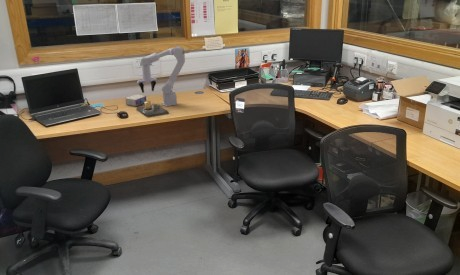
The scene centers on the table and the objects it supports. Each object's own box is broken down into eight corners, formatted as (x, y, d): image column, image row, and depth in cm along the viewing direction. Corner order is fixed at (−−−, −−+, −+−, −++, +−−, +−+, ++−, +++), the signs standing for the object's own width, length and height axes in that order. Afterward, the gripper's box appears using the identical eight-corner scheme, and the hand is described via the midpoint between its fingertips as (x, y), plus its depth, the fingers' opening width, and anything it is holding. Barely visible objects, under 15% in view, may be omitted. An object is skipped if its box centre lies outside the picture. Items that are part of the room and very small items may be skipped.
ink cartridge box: (136, 107, 291) (148, 101, 303) (135, 99, 289) (148, 94, 301) (125, 105, 295) (138, 99, 307) (125, 98, 293) (137, 92, 305)
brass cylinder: (150, 110, 279) (149, 100, 276) (152, 111, 275) (151, 102, 273) (144, 111, 277) (143, 101, 274) (146, 112, 274) (145, 102, 271)
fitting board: (157, 106, 292) (156, 101, 291) (168, 113, 277) (168, 108, 276) (136, 109, 284) (136, 105, 283) (147, 117, 269) (146, 112, 267)
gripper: (153, 71, 296) (154, 89, 301) (135, 73, 289) (136, 91, 294) (157, 73, 291) (158, 91, 296) (138, 75, 283) (140, 94, 288)
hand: (147, 91), depth 295 cm, fingers open, 7 cm apart
